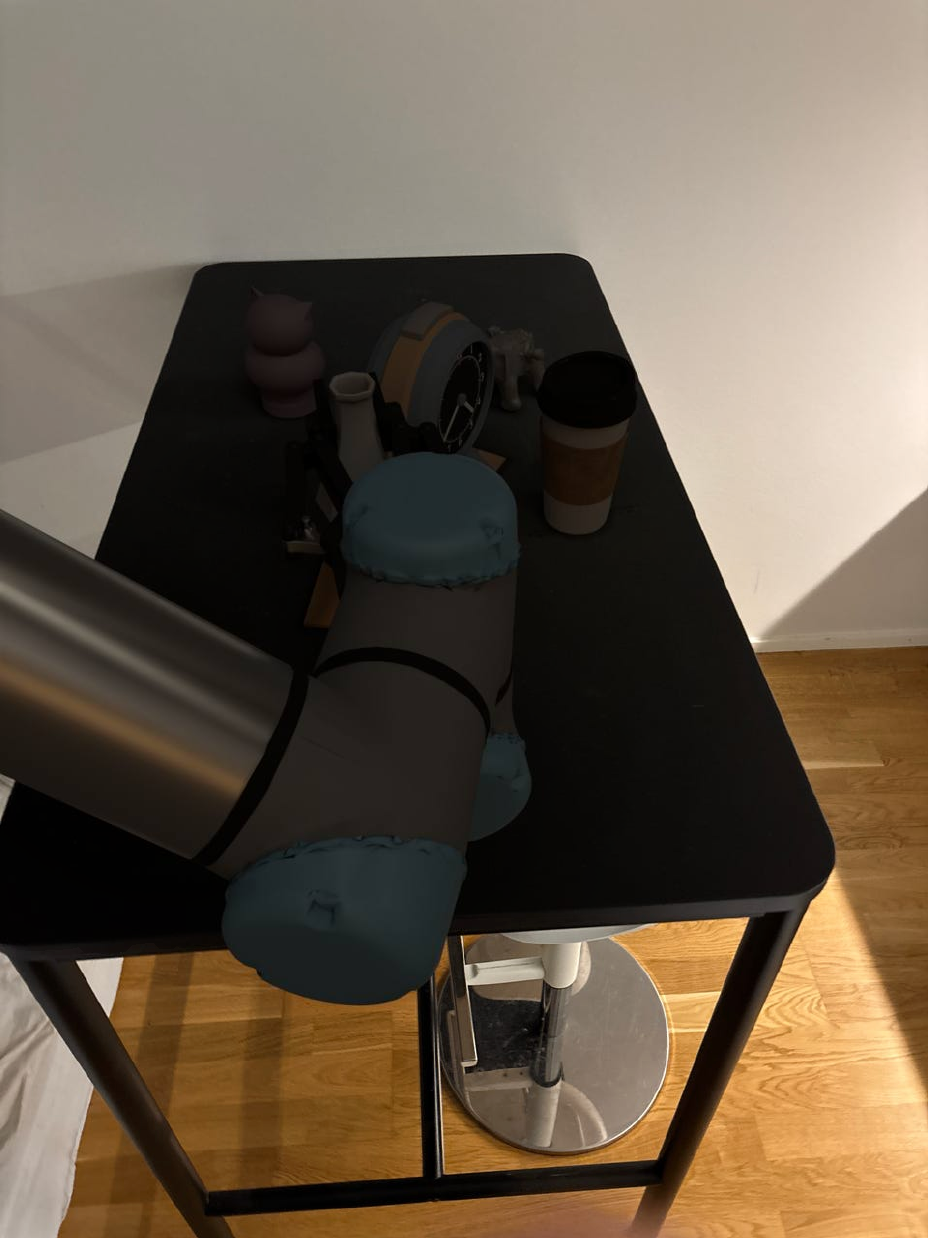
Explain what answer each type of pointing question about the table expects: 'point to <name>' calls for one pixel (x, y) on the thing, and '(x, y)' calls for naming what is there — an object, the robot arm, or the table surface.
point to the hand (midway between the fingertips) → (345, 391)
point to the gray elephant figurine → (514, 362)
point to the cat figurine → (282, 353)
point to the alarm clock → (439, 375)
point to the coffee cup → (583, 436)
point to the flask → (354, 430)
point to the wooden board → (323, 600)
